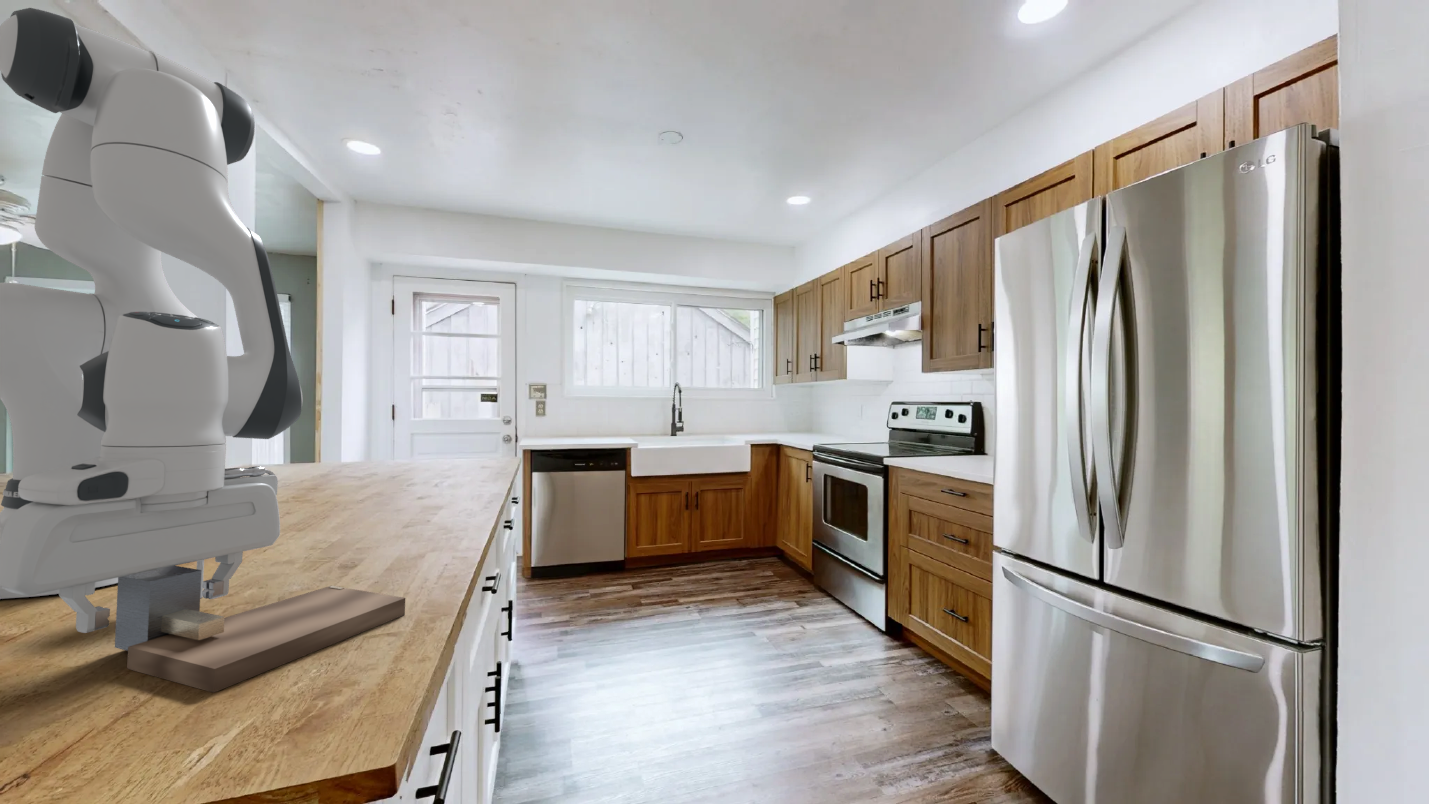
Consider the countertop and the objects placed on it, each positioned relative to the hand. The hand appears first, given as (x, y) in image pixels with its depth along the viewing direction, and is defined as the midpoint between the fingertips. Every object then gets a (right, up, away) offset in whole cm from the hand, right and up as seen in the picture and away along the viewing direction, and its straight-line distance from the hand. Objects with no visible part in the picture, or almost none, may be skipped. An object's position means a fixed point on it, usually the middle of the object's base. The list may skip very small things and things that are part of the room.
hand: (159, 611), depth 54 cm
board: (+10, -4, +3) cm, 11 cm away
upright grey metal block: (+3, -3, -1) cm, 4 cm away
